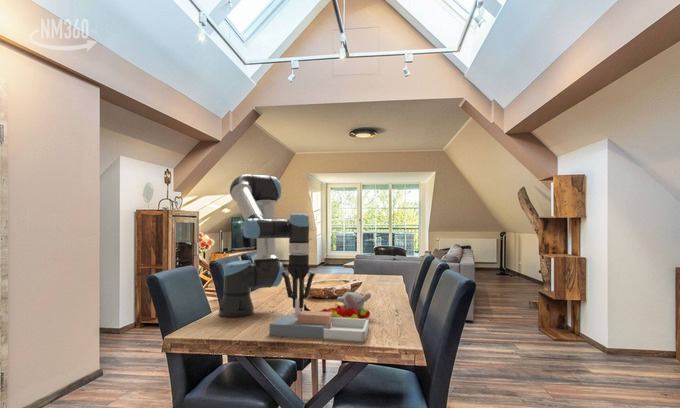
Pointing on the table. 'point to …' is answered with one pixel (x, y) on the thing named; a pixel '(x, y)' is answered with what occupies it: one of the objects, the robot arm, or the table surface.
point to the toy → (354, 300)
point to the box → (347, 330)
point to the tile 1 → (306, 316)
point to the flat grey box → (296, 328)
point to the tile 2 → (323, 317)
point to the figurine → (344, 312)
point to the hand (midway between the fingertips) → (298, 316)
